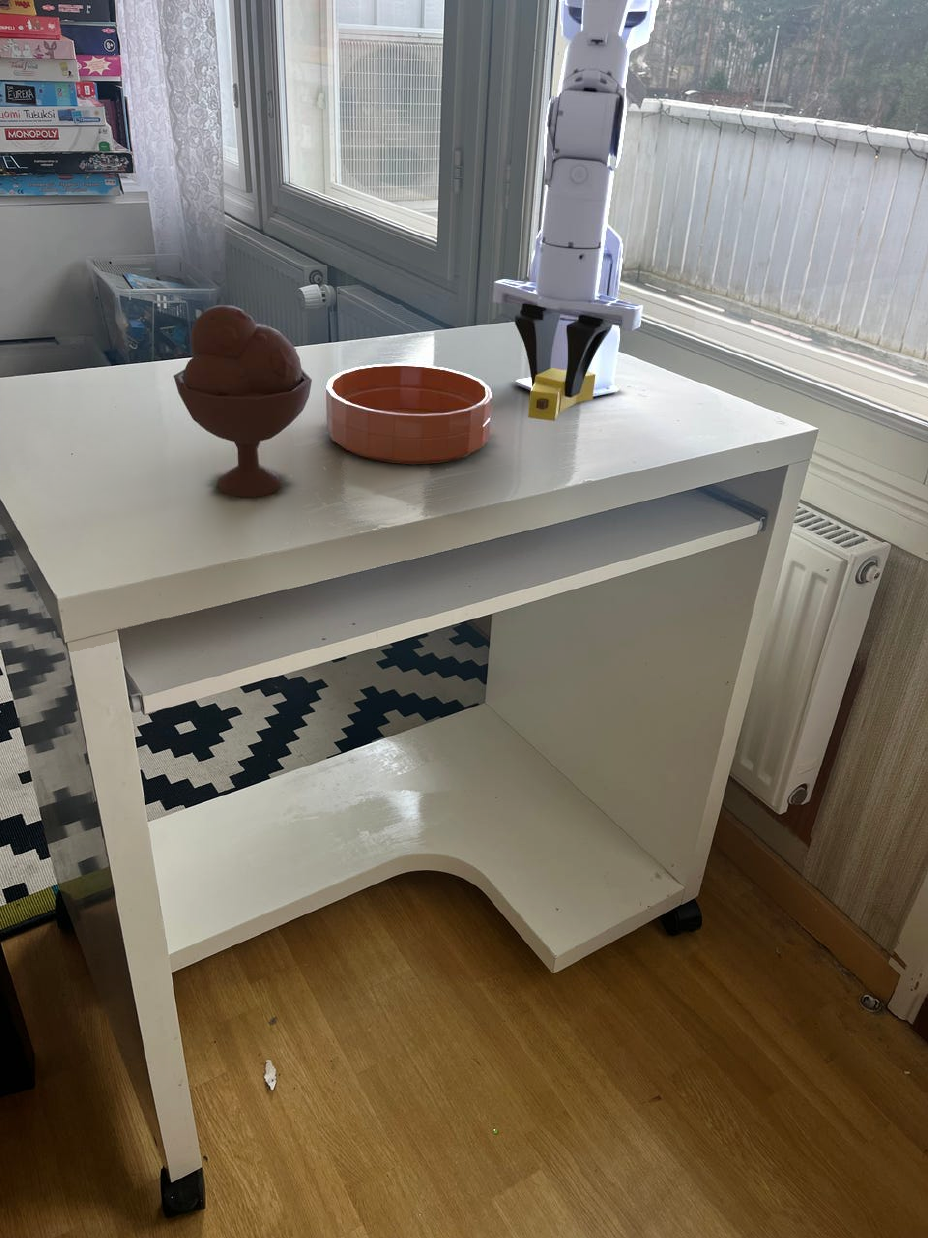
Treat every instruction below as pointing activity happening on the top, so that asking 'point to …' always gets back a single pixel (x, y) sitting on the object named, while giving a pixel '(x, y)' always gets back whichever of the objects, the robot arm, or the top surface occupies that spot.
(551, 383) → the yellow banana
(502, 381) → the top surface
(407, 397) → the bowl
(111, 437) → the top surface
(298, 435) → the top surface
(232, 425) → the ice cream bowl
